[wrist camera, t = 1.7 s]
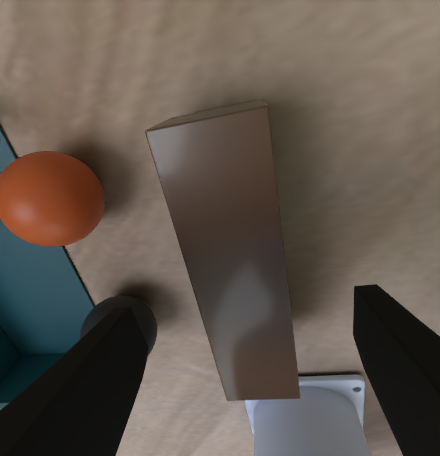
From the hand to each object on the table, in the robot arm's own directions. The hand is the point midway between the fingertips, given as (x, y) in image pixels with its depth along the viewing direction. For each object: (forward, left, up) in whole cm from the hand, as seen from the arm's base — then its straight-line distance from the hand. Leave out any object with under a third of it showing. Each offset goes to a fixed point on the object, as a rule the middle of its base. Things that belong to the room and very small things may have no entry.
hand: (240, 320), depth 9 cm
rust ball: (+4, +7, -4) cm, 9 cm away
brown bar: (0, 0, -6) cm, 6 cm away
